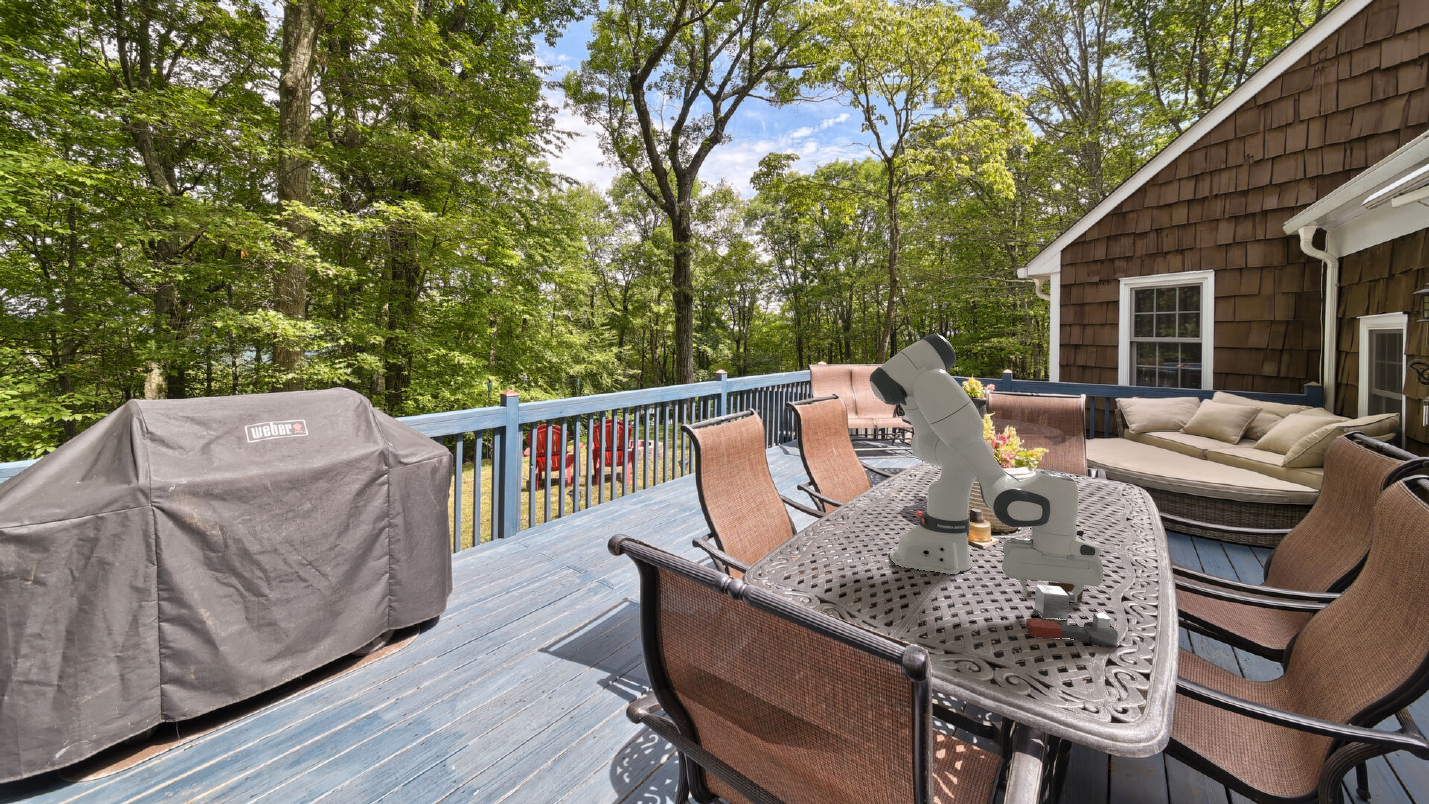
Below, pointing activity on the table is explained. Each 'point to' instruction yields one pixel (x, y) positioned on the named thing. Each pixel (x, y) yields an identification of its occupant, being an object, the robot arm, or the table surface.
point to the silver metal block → (1051, 602)
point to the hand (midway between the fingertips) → (1049, 598)
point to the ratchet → (1077, 630)
